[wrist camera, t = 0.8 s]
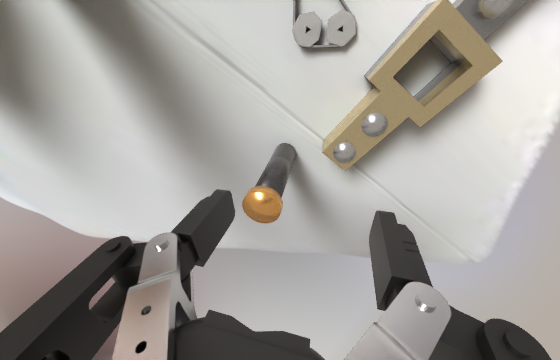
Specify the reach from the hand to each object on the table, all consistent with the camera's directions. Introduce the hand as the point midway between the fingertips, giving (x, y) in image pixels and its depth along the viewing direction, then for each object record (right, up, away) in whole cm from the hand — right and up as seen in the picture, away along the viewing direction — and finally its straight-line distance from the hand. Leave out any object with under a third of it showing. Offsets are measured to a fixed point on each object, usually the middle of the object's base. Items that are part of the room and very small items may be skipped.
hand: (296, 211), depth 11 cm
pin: (0, +6, +20) cm, 21 cm away
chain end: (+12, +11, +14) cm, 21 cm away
